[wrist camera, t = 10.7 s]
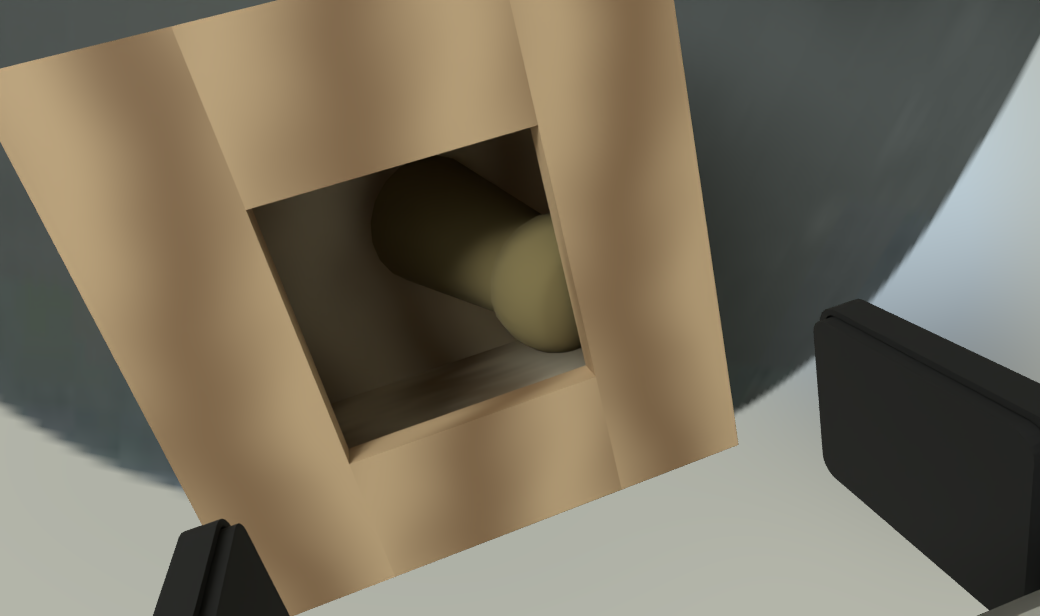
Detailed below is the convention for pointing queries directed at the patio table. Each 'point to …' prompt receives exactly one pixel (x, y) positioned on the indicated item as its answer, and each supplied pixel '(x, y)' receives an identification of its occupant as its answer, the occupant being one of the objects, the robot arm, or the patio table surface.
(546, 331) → the cork
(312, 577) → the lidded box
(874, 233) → the patio table surface
